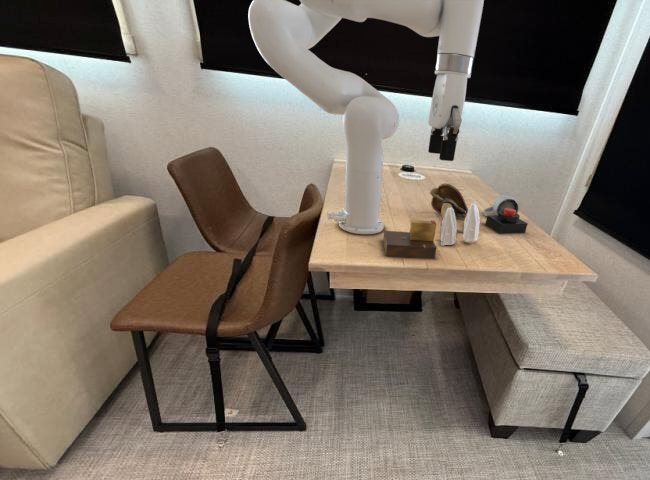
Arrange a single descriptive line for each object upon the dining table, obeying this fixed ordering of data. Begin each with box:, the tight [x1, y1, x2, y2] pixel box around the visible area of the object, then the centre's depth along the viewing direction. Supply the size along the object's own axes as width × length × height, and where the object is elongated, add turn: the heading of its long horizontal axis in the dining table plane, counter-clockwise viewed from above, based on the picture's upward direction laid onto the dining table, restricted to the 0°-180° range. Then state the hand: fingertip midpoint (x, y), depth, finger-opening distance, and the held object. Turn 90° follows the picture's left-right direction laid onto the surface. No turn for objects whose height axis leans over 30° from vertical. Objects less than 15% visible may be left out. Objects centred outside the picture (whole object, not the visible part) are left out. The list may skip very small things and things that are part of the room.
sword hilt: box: [429, 182, 469, 233], centre depth 101 cm, size 10×24×15 cm
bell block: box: [484, 211, 529, 235], centre depth 105 cm, size 10×8×5 cm
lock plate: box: [382, 230, 441, 260], centre depth 82 cm, size 14×10×3 cm
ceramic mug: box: [483, 194, 520, 217], centre depth 115 cm, size 11×8×8 cm
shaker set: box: [440, 202, 481, 247], centre depth 88 cm, size 12×4×11 cm, turn 107°
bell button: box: [503, 208, 516, 216], centre depth 103 cm, size 4×4×2 cm
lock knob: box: [409, 219, 437, 242], centre depth 80 cm, size 6×2×5 cm, turn 96°
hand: (440, 156), depth 77 cm, fingers open, 9 cm apart
